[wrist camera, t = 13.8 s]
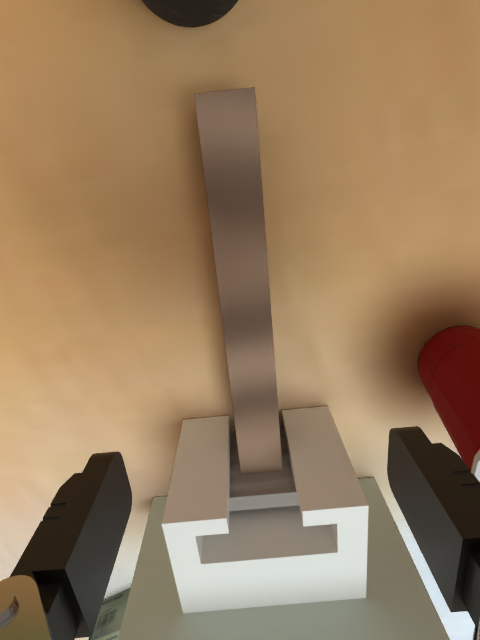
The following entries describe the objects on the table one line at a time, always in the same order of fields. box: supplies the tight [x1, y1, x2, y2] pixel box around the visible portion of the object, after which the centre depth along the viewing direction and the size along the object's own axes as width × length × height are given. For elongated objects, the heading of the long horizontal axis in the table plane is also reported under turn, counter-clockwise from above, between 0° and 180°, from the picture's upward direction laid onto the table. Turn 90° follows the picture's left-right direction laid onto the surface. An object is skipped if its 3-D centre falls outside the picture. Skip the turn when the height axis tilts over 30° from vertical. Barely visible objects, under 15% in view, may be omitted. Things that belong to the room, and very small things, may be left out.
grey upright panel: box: [118, 406, 450, 640], centre depth 23 cm, size 10×20×20 cm, turn 96°
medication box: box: [89, 588, 131, 640], centre depth 37 cm, size 12×3×4 cm, turn 121°
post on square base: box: [194, 87, 299, 511], centre depth 24 cm, size 25×7×7 cm, turn 6°
